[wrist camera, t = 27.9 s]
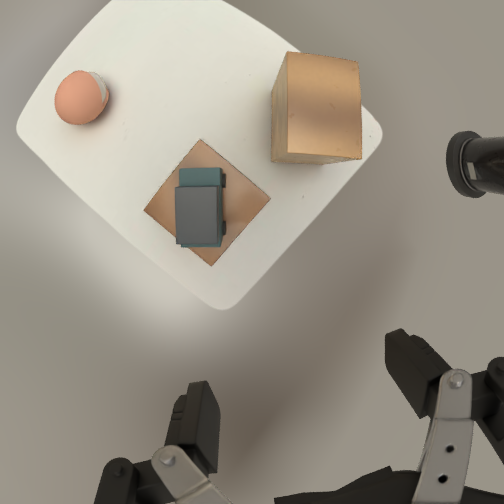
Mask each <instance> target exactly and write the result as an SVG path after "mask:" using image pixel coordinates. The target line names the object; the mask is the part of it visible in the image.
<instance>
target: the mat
mask: <svg viewBox="0 0 504 504" xmlns="http://www.w3.org/2000/svg"><path fill="white" fill-rule="evenodd" d="M215 167H220V168H222V169H223V174H226V188H223V221H226V235H223V240H222V243H221V247H188V248H189V249H190V250H192V251H193V252H194V253H195V254H197V255H198V256H199V257H200V258H202V259H203V260H204V261H205V262H206V263H208V264H209V265H210V266H212V265H213V264H214V263H215V262H216V261H217V259H218V258H219V257H220V256H221V255H222V254H223V252H224V251H225V250H226V249H227V248H228V247H229V246H230V244H231V243H232V242H233V241H234V240H235V239H236V237H237V236H238V235H239V234H240V233H241V232H242V231H243V229H244V228H245V227H246V226H247V225H248V224H249V223H250V221H251V220H252V219H253V218H254V217H255V216H256V215H257V213H258V212H259V211H260V210H261V209H262V208H263V207H264V206H265V204H266V203H267V202H268V201H269V200H270V199H271V198H270V197H268V196H267V195H266V194H265V193H264V192H263V191H262V190H260V189H259V188H258V187H257V186H256V185H255V184H253V183H252V182H251V181H250V180H249V179H248V178H246V177H245V176H244V175H243V174H242V173H241V172H239V171H238V170H237V169H236V168H235V167H233V166H232V165H231V164H230V163H229V162H227V161H226V160H225V159H224V158H223V157H221V156H220V155H219V154H218V153H217V152H215V151H214V150H213V149H212V148H210V147H209V146H208V145H207V144H206V143H204V142H203V141H202V140H201V139H200V140H199V141H198V142H197V143H196V145H195V146H194V147H193V148H192V149H191V150H190V152H189V153H188V154H187V155H186V156H185V158H184V159H183V160H182V161H181V162H180V164H179V165H178V166H177V167H176V169H175V170H174V171H173V172H172V174H171V175H170V176H169V177H168V179H167V180H166V181H165V182H164V184H163V185H162V186H161V188H160V189H159V190H158V192H157V193H156V194H155V196H154V197H153V198H152V200H151V201H150V202H149V204H148V205H147V206H146V208H145V209H144V211H145V212H146V213H147V214H149V215H150V216H151V217H152V218H153V219H154V220H156V221H157V222H158V223H159V224H160V225H162V226H163V227H164V228H165V229H166V230H168V231H169V232H170V233H171V234H172V235H174V236H175V237H176V225H175V187H179V169H181V168H215Z"/></svg>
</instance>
